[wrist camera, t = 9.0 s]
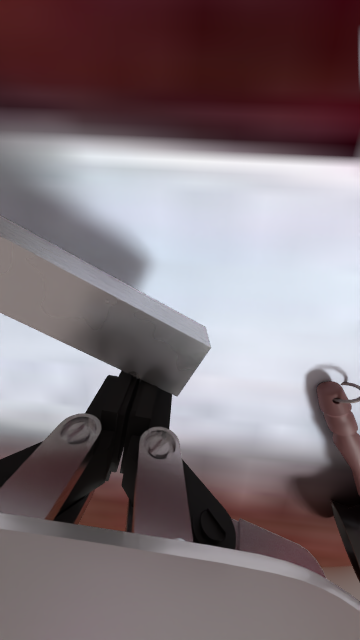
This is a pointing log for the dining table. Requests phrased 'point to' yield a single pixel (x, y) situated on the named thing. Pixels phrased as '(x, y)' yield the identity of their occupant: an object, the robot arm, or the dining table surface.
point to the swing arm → (96, 311)
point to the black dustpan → (353, 522)
